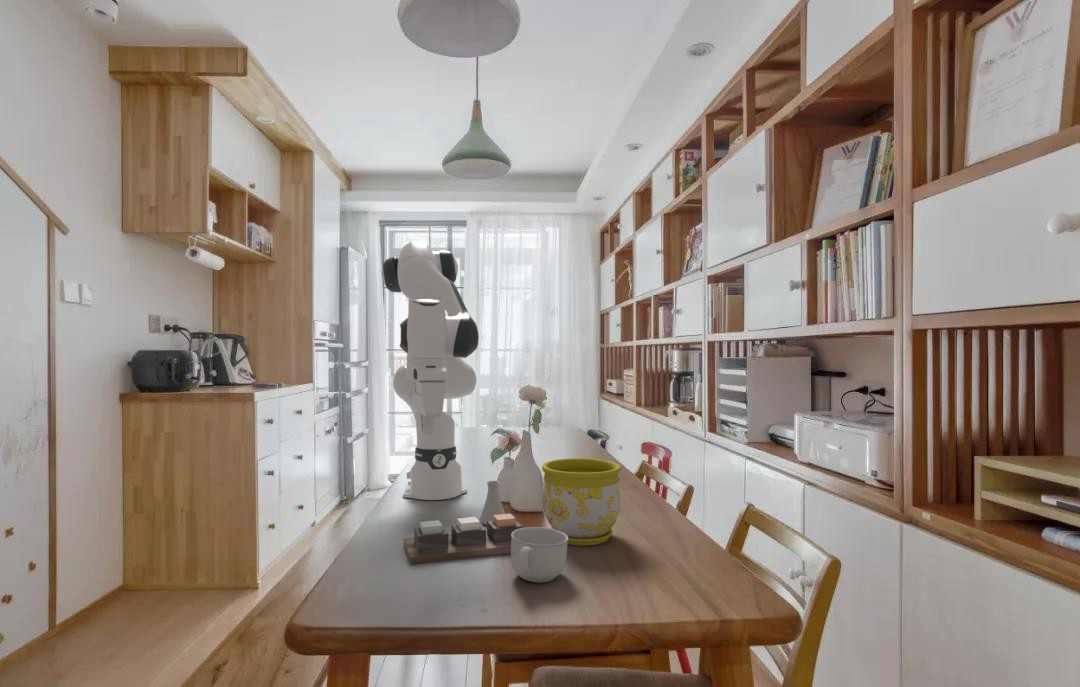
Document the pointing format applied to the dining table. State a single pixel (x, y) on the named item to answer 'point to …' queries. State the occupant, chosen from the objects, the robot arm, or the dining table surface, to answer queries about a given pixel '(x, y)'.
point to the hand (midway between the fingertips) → (426, 433)
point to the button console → (459, 543)
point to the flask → (491, 503)
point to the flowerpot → (582, 498)
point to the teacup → (538, 553)
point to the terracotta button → (504, 520)
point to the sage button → (430, 527)
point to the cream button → (468, 524)
